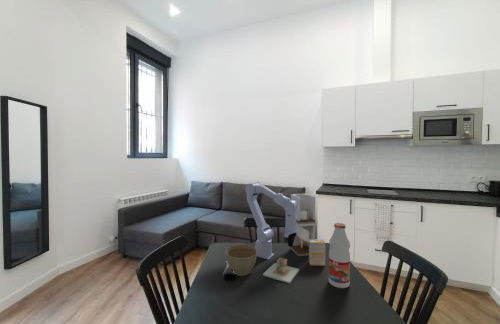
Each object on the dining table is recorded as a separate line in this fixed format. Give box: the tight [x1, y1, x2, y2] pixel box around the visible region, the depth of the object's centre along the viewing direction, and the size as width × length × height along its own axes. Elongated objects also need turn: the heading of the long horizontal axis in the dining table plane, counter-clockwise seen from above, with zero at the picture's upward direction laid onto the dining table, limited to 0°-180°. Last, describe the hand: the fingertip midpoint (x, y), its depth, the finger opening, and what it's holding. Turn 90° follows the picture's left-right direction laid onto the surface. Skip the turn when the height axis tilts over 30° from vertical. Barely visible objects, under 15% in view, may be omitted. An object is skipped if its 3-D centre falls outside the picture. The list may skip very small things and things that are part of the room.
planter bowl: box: [225, 244, 257, 277], centre depth 122 cm, size 16×16×11 cm
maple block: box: [276, 257, 288, 274], centre depth 121 cm, size 4×4×6 cm
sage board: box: [262, 262, 300, 284], centre depth 121 cm, size 14×14×1 cm
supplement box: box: [308, 238, 326, 267], centre depth 130 cm, size 8×5×13 cm, turn 84°
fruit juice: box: [328, 222, 351, 289], centre depth 111 cm, size 9×9×28 cm
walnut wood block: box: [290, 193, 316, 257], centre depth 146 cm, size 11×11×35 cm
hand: (290, 246), depth 132 cm, fingers closed
